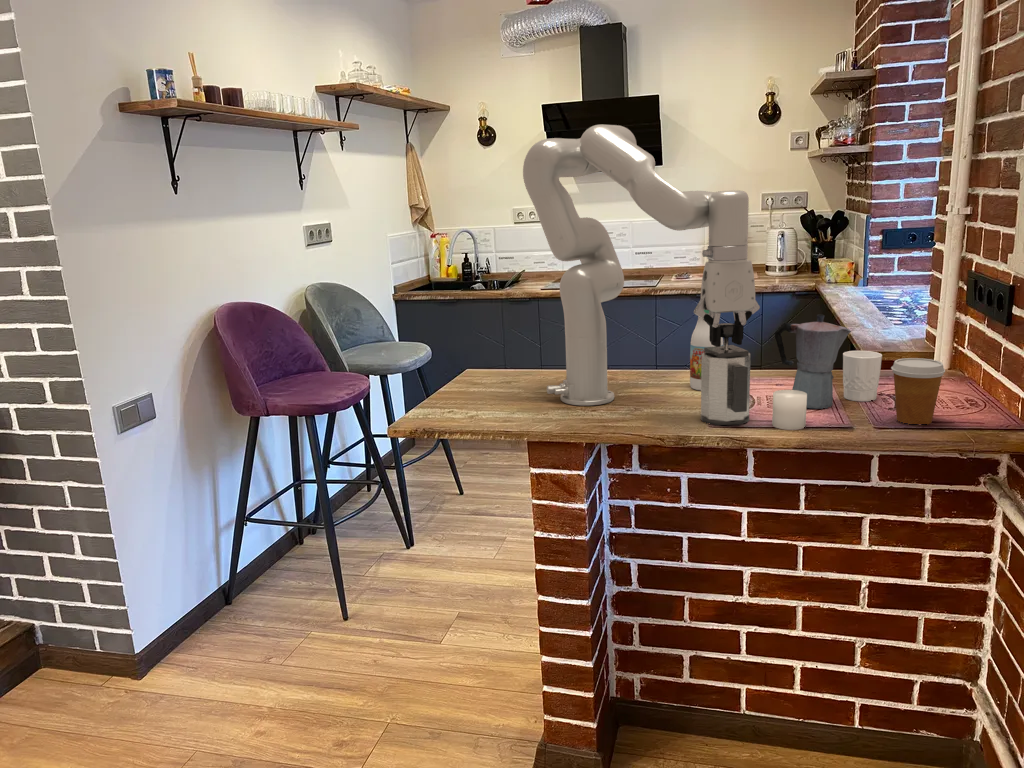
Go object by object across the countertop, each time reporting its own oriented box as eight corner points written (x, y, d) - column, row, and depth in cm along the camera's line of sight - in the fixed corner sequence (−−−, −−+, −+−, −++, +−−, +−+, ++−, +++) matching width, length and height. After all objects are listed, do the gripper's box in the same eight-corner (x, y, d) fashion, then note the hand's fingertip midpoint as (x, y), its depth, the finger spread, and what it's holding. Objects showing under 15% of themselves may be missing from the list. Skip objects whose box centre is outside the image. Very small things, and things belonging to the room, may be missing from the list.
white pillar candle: (782, 431, 157) (783, 399, 156) (766, 422, 164) (767, 391, 162) (812, 427, 159) (813, 395, 157) (794, 419, 165) (795, 388, 163)
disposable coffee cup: (878, 421, 161) (882, 363, 158) (902, 411, 166) (906, 355, 163) (926, 431, 153) (931, 370, 151) (949, 420, 159) (954, 362, 156)
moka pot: (851, 410, 169) (856, 317, 164) (775, 410, 172) (778, 318, 167) (842, 399, 178) (847, 310, 173) (770, 398, 181) (773, 311, 176)
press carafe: (718, 431, 159) (719, 357, 156) (693, 415, 171) (693, 346, 167) (763, 426, 161) (765, 353, 158) (735, 411, 172) (736, 342, 169)
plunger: (717, 395, 161) (718, 328, 158) (702, 388, 168) (703, 323, 165) (748, 392, 163) (750, 325, 159) (732, 385, 169) (734, 320, 166)
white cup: (873, 393, 181) (876, 350, 179) (883, 402, 174) (886, 357, 171) (837, 393, 183) (839, 350, 180) (845, 402, 175) (847, 358, 173)
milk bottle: (688, 383, 197) (689, 303, 193) (720, 383, 196) (722, 302, 192) (691, 391, 190) (691, 308, 185) (724, 391, 189) (726, 307, 184)
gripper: (696, 258, 154) (695, 351, 158) (776, 253, 157) (773, 344, 161) (680, 255, 161) (680, 344, 165) (757, 250, 164) (754, 338, 168)
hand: (726, 343), depth 163 cm, fingers open, 4 cm apart
